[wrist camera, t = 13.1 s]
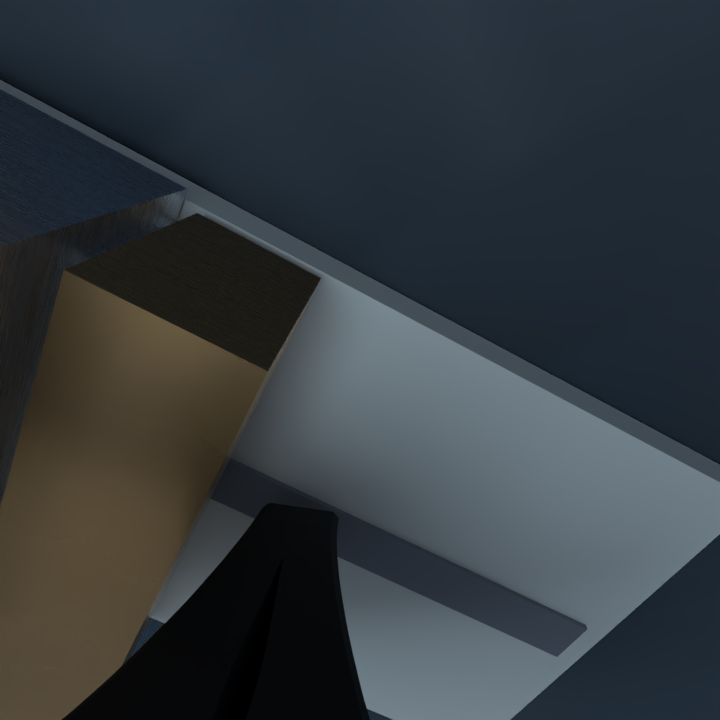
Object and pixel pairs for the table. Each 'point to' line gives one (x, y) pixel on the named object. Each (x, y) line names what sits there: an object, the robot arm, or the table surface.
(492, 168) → the table surface
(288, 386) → the vise base
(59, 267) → the steel block
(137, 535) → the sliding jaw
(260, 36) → the table surface
